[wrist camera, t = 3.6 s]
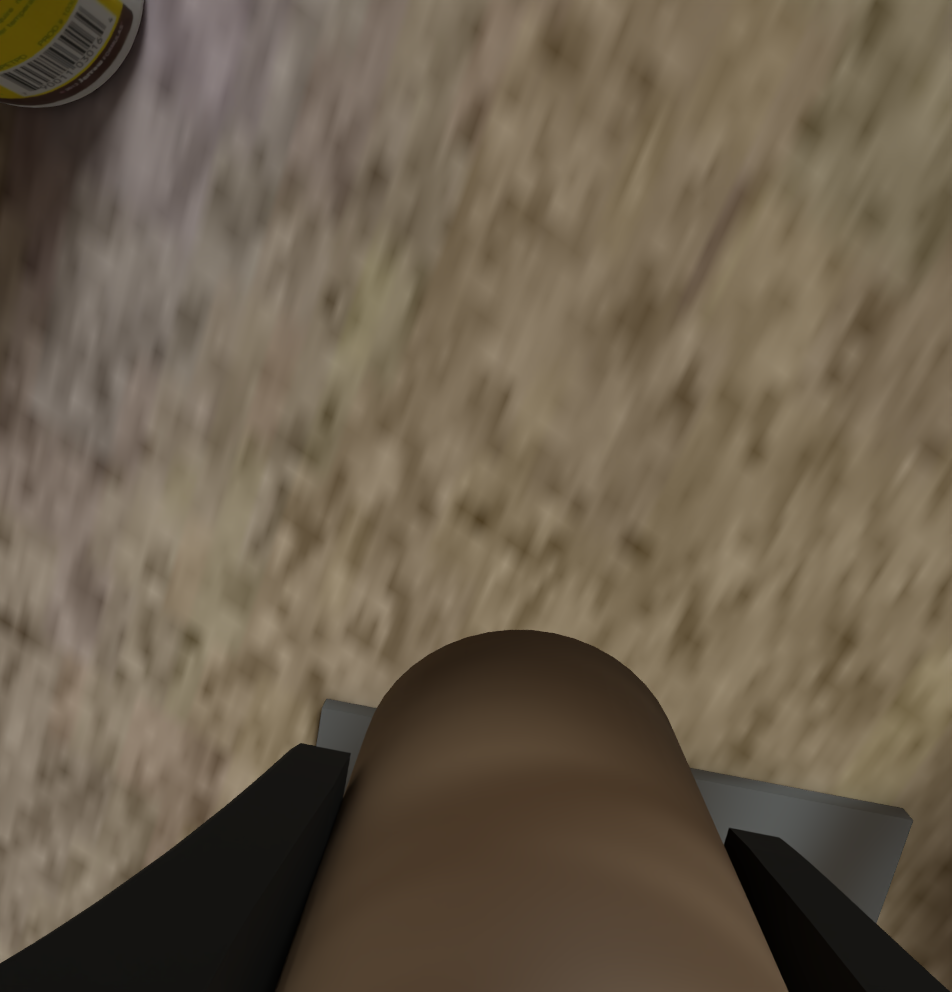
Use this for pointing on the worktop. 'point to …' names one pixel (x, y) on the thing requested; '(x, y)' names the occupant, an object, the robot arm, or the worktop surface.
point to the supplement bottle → (62, 47)
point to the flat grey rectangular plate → (748, 816)
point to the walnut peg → (525, 840)
